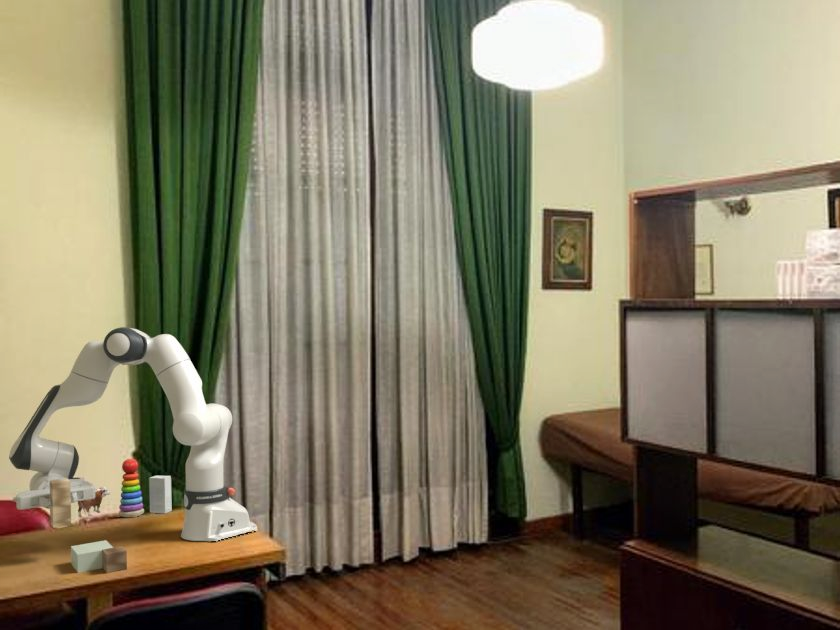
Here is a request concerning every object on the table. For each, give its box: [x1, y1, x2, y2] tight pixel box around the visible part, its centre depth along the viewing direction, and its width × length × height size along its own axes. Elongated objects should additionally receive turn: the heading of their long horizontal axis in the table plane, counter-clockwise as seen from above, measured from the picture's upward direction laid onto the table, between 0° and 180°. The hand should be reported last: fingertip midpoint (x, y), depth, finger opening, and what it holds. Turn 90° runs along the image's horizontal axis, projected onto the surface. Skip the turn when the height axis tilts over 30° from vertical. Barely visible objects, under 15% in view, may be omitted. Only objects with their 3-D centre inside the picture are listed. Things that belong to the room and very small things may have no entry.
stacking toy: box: [118, 458, 145, 518], centre depth 258 cm, size 8×8×19 cm
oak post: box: [49, 479, 72, 529], centre depth 212 cm, size 4×4×12 cm
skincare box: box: [148, 475, 173, 515], centre depth 261 cm, size 6×4×12 cm
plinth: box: [70, 539, 114, 573], centre depth 206 cm, size 9×9×5 cm
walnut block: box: [101, 545, 128, 574], centre depth 203 cm, size 5×5×5 cm
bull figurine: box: [77, 486, 111, 518], centre depth 260 cm, size 4×13×8 cm, turn 161°
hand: (60, 501), depth 211 cm, fingers closed on oak post, 4 cm apart
